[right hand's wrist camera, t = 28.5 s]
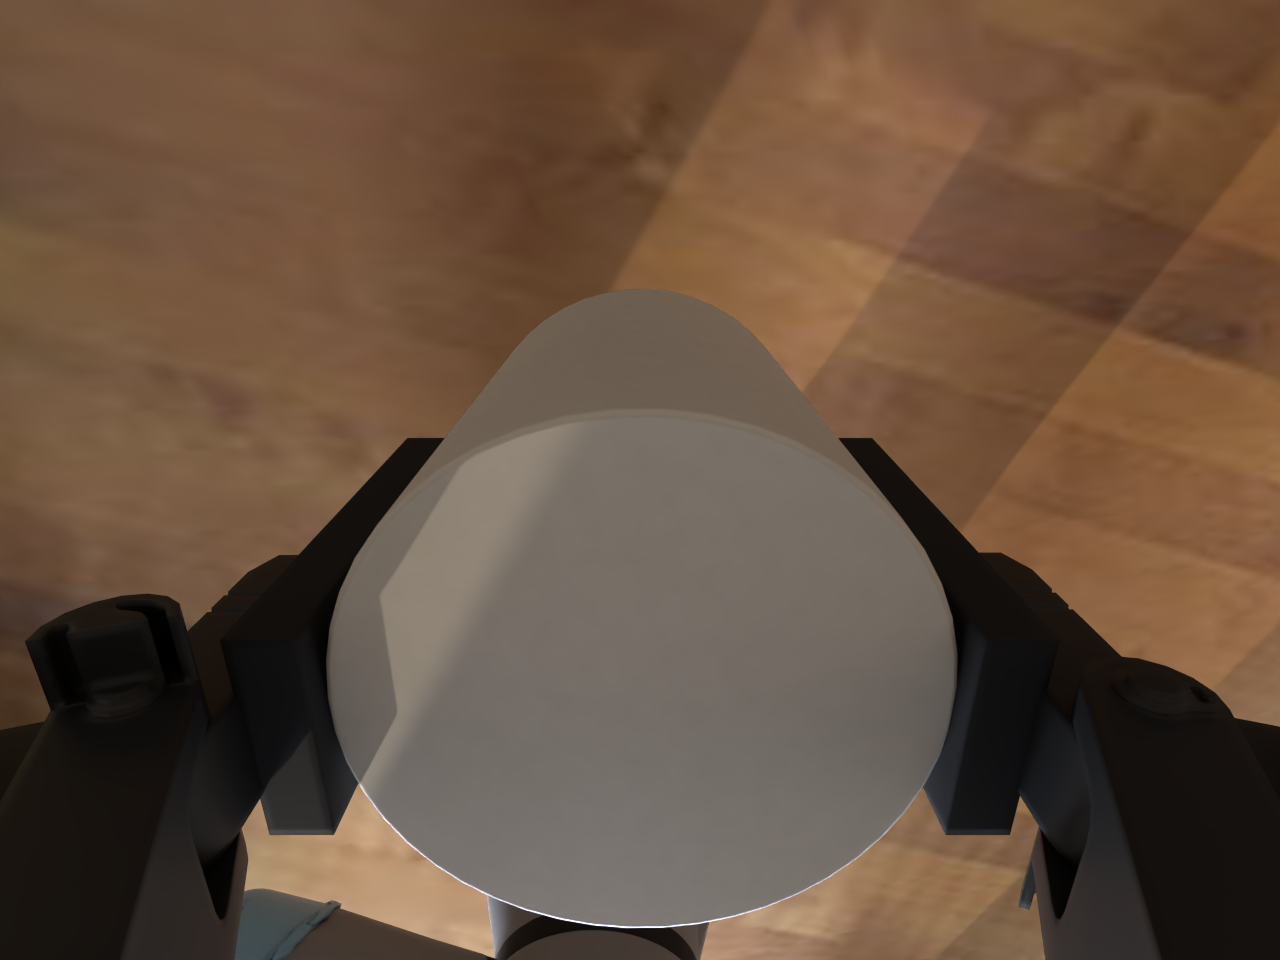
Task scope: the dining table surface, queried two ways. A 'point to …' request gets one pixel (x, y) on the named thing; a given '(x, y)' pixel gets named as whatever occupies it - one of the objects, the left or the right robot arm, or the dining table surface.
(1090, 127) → the dining table surface
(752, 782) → the canister
